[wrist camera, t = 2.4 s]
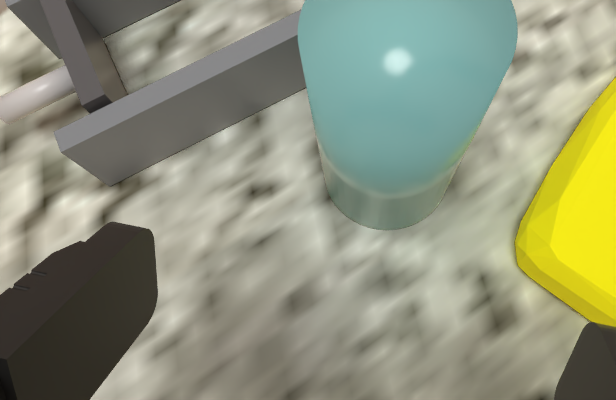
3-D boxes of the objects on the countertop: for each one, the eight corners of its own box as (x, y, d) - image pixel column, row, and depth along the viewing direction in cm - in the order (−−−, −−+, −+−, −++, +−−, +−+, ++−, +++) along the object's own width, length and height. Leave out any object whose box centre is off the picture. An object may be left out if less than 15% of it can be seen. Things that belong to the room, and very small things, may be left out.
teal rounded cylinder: (407, 95, 23) (440, -90, 14) (474, 192, 21) (564, 59, 12) (302, 148, 23) (262, -3, 13) (361, 252, 21) (362, 163, 12)
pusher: (102, 38, 26) (57, -19, 22) (145, 137, 23) (104, 94, 20) (12, 81, 25) (-50, 32, 21) (48, 186, 23) (-13, 151, 19)
